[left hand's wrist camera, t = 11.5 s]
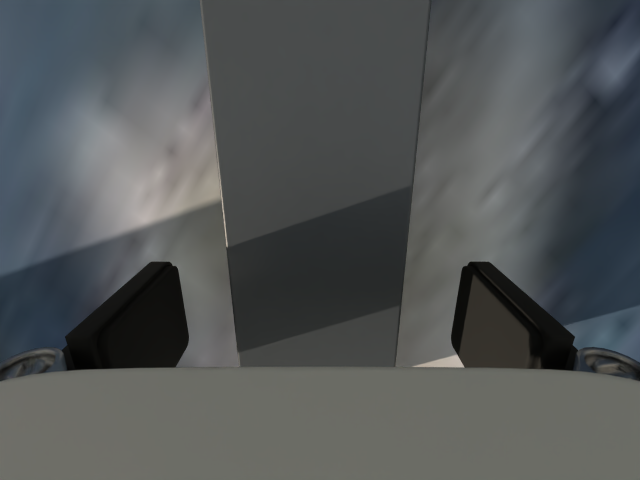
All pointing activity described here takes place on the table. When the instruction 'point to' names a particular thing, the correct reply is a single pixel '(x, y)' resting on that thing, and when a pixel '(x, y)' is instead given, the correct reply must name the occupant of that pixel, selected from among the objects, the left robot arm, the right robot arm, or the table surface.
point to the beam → (316, 171)
